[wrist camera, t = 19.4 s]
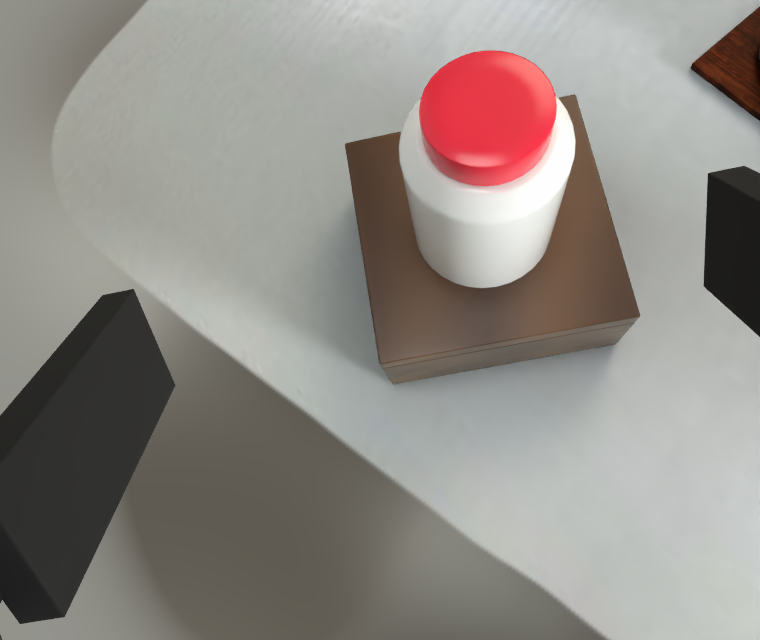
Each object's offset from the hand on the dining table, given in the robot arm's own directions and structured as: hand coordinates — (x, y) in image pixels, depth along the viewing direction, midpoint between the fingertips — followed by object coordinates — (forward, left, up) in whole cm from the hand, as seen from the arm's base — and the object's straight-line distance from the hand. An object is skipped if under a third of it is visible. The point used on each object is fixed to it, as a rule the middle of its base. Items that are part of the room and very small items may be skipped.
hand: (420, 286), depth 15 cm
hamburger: (+29, +19, -26) cm, 43 cm away
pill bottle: (+4, +10, -20) cm, 22 cm away
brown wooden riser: (+4, +10, -25) cm, 28 cm away
